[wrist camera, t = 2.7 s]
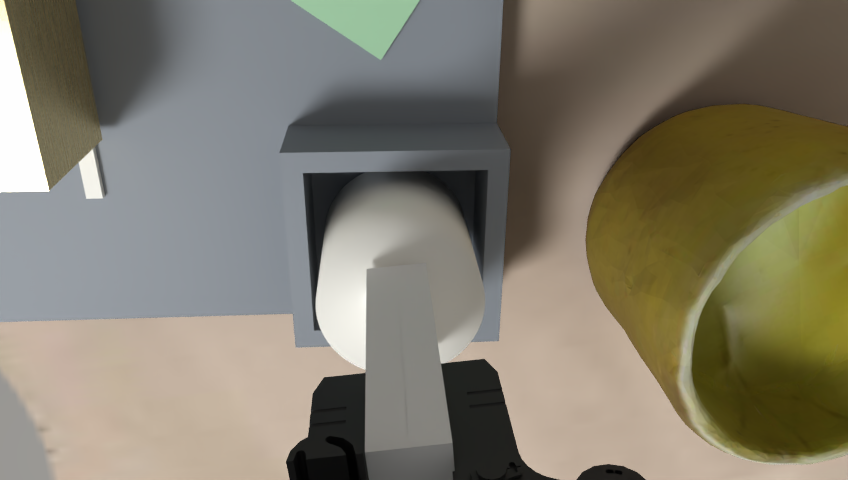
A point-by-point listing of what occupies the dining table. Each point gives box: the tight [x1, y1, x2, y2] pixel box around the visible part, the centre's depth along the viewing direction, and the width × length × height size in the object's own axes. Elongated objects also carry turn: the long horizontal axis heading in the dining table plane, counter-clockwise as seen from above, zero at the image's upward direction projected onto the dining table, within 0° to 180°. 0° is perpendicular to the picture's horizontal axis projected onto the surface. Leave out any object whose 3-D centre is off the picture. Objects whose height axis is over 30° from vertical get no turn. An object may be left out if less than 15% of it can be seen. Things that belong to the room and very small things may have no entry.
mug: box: [586, 104, 848, 465], centre depth 23 cm, size 12×10×10 cm
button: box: [316, 171, 485, 370], centre depth 21 cm, size 4×4×4 cm
